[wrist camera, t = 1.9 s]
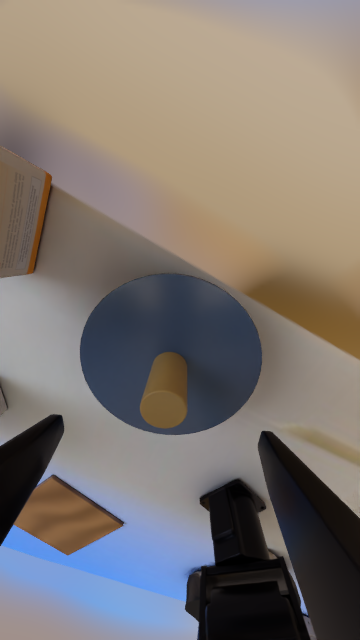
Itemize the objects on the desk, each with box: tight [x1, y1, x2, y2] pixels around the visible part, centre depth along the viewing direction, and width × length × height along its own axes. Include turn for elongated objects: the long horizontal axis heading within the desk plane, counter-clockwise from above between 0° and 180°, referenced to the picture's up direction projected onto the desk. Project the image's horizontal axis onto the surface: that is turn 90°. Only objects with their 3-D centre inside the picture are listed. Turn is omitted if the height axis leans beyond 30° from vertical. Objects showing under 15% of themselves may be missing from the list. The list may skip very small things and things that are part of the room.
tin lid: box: [80, 274, 262, 435], centre depth 12 cm, size 13×13×5 cm
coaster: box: [14, 475, 123, 555], centre depth 28 cm, size 13×13×1 cm
